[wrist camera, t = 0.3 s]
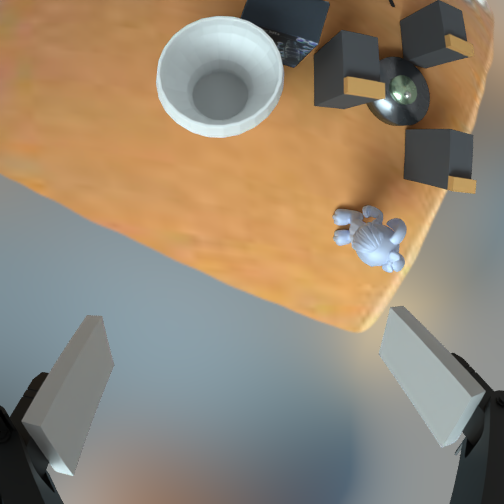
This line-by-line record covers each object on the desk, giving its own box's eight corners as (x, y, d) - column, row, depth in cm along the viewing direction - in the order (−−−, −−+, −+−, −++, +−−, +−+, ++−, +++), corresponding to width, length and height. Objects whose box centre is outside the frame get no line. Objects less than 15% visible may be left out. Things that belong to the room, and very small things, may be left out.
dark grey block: (405, 129, 37) (455, 129, 27) (427, 133, 37) (478, 135, 27) (403, 178, 39) (452, 191, 29) (425, 180, 40) (475, 193, 29)
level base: (360, 54, 34) (372, 47, 30) (418, 68, 34) (433, 64, 31) (362, 121, 37) (375, 119, 33) (420, 130, 37) (435, 130, 34)
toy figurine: (326, 202, 40) (365, 224, 28) (369, 198, 40) (418, 218, 29) (327, 252, 42) (363, 290, 31) (369, 247, 42) (414, 280, 31)
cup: (175, 63, 32) (149, 18, 18) (261, 57, 33) (285, 9, 19) (179, 145, 36) (152, 143, 22) (267, 138, 36) (295, 132, 22)
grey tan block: (313, 55, 33) (345, 26, 23) (343, 59, 34) (382, 35, 23) (314, 106, 35) (347, 92, 25) (344, 109, 36) (385, 98, 25)
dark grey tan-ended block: (399, 21, 32) (442, -3, 21) (421, 28, 32) (466, 9, 22) (403, 62, 34) (451, 45, 23) (425, 68, 34) (474, 55, 24)
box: (233, 52, 33) (237, 20, 23) (245, 16, 31) (254, -23, 21) (294, 69, 34) (319, 44, 24) (305, 33, 32) (331, 1, 22)
